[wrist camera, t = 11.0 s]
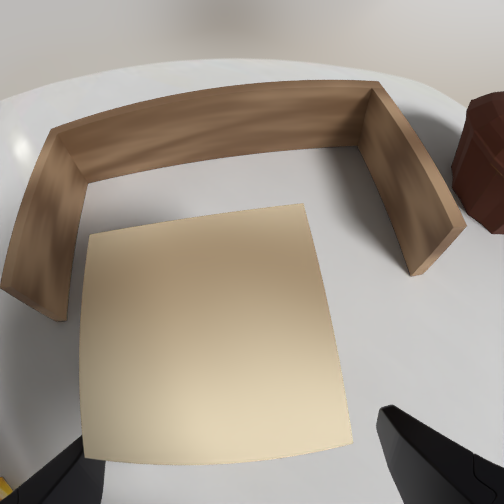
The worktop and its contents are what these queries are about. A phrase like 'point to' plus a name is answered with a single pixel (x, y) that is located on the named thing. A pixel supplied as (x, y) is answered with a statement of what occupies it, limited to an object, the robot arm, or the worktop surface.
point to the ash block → (209, 342)
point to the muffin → (482, 162)
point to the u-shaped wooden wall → (219, 146)
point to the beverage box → (4, 488)
